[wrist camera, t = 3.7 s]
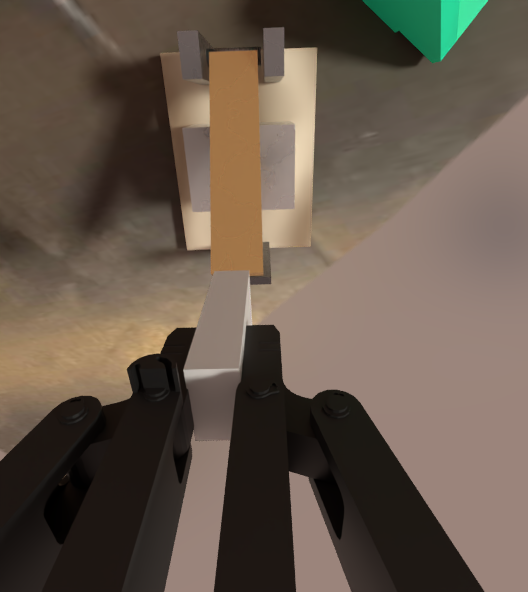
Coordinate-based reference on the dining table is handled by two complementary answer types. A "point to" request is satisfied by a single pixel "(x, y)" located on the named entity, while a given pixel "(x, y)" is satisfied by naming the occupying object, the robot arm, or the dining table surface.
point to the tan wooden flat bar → (235, 160)
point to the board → (272, 108)
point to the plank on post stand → (273, 135)
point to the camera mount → (428, 21)
